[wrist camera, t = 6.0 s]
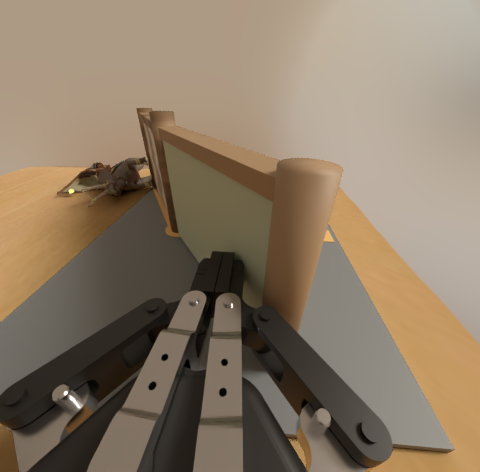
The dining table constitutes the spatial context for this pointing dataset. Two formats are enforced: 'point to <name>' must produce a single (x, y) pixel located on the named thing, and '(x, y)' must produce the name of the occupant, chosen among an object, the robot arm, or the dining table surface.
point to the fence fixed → (158, 155)
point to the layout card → (177, 285)
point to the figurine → (110, 178)
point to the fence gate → (253, 213)
